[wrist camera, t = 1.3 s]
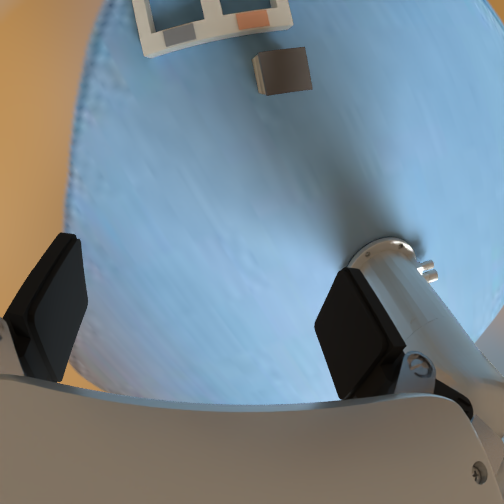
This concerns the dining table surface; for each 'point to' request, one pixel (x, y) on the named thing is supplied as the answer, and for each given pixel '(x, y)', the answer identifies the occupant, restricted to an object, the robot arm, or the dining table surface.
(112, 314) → the dining table surface
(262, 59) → the plug
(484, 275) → the dining table surface
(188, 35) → the socket block
